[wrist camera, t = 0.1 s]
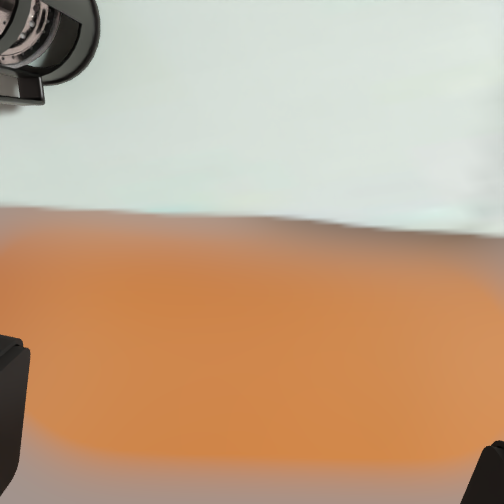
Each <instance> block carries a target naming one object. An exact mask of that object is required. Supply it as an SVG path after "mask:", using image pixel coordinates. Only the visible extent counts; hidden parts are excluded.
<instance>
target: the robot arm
mask: <svg viewBox="0 0 504 504" xmlns="http://www.w3.org/2000/svg"><path fill="white" fill-rule="evenodd" d="M29 364H30V350H29V349H28V348H24V347H23V342H22V340H21V339H19V338H14V337H9V336H4V335H0V496H1V495H2V493H3V491H4V490H5V489H6V488H7V486H8V485H9V483H10V482H11V480H12V479H13V477H14V475H15V472H16V470H17V467H18V463H19V456H20V447H21V437H22V428H23V419H24V410H25V401H26V390H27V382H28V373H29ZM460 504H504V441H500V440H499V441H495V442H494V443H493V444H492V445H491V446H486V447H485V448H484V449H483V451H482V453H481V456H480V458H479V461H478V463H477V465H476V468H475V470H474V472H473V475H472V477H471V479H470V482H469V484H468V487H467V489H466V492H465V494H464V496H463V499H462V501H461V503H460Z"/></svg>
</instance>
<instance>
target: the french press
mask: <svg viewBox="0 0 504 504" xmlns="http://www.w3.org/2000/svg"><path fill="white" fill-rule="evenodd" d="M61 13H62V14H64V15H66V16H68V17H69V18H71V19H73V20H75V21H76V22H78V23H79V29H78V35H77V38H76V41H75V43H74V46H73V48H72V49H71V51H70V53H69V54H68V56H67V57H66V58H65V59H64V60H63V61H62V62H61V63H60V64H58V65H55V66H52V67H46V68H39V67H33V66H29V65H27V64H29V63H31V62H33V61H34V60H35V59H37V58H38V57H40V56H41V55H42V54H43V53H44V52H45V51H46V50H47V49H48V48H49V46H50V44H51V43H52V41H53V40H54V38H55V35H56V33H57V31H58V28H59V24H60V20H61ZM99 38H100V17H99V11H98V6H97V4H96V1H95V0H0V74H3V75H7V76H12V77H17V78H18V85H19V93H20V98H18V97H10V96H2V95H0V104H10V105H20V106H28V105H44V104H45V98H44V90H43V85H56V84H61V83H64V82H67V81H70V80H71V79H73V78H74V77H76V76H78V75H79V74H80V73H81V72H82V71H83V70H84V69H85V68H86V67H87V66H88V65H89V63H90V62H91V60H92V58H93V57H94V55H95V52H96V49H97V47H98V43H99Z"/></svg>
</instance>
